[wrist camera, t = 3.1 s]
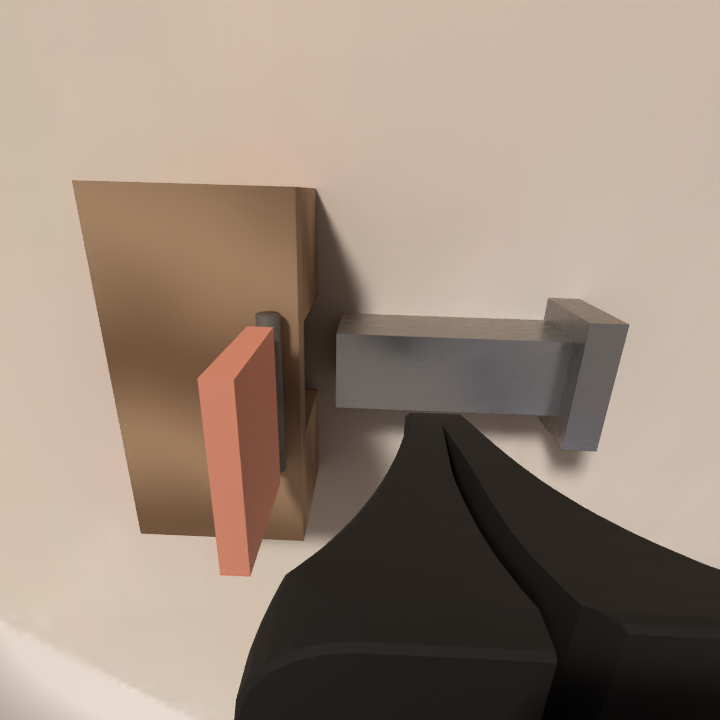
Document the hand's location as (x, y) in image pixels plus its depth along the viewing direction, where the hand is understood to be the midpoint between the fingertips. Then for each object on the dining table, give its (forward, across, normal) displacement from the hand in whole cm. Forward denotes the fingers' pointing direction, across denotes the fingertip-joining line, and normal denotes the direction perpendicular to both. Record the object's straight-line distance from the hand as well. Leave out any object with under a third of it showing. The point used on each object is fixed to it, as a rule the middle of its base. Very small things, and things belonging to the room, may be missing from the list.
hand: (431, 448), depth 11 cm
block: (+7, +7, 0) cm, 10 cm away
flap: (+2, +5, 0) cm, 5 cm away
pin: (+8, -1, 0) cm, 8 cm away
